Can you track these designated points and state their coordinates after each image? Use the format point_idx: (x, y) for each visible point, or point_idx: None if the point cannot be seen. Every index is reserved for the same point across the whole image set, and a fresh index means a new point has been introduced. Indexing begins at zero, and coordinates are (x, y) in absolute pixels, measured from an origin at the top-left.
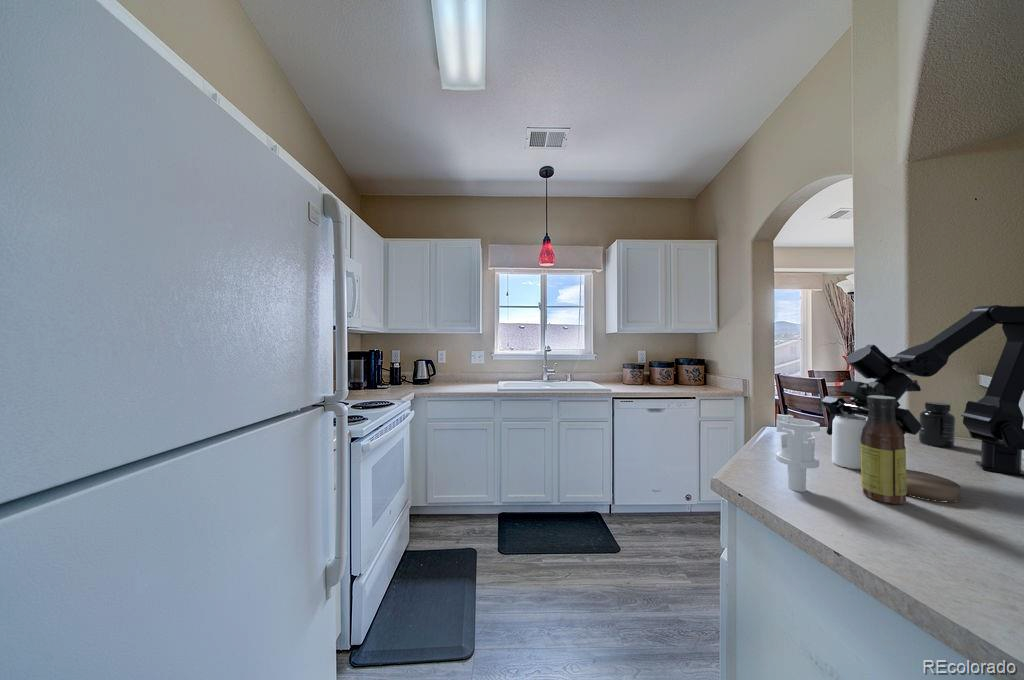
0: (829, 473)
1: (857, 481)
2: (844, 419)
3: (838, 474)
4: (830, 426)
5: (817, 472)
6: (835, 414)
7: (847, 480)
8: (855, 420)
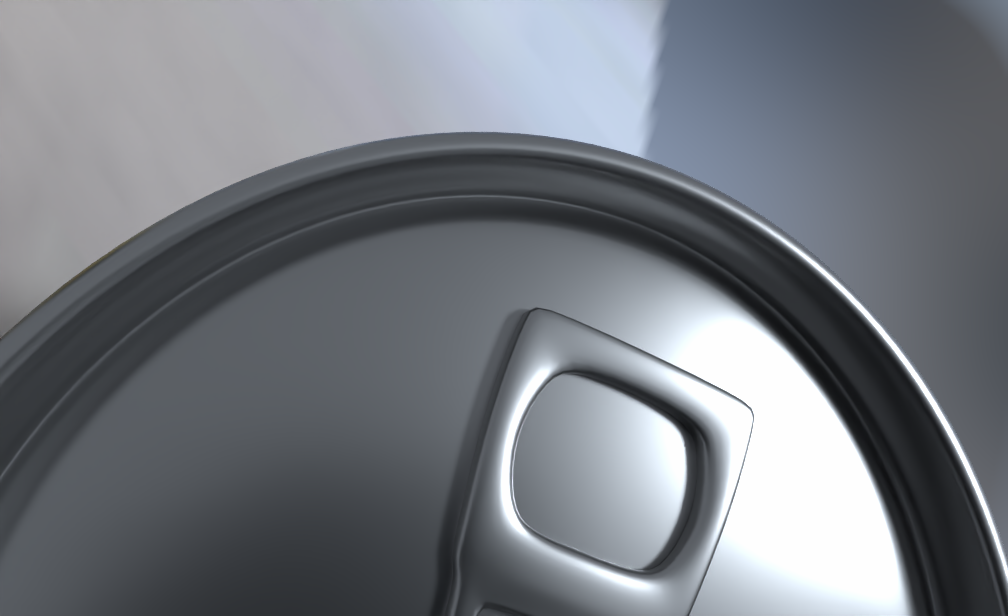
0: (266, 86)
1: (35, 106)
2: (402, 190)
3: (224, 132)
4: None
5: (312, 21)
6: (934, 409)
7: (86, 52)
8: (46, 396)
